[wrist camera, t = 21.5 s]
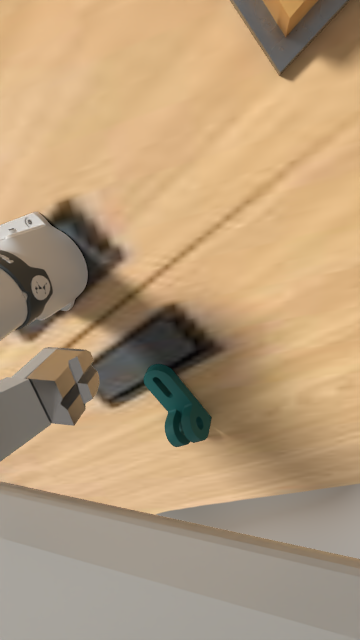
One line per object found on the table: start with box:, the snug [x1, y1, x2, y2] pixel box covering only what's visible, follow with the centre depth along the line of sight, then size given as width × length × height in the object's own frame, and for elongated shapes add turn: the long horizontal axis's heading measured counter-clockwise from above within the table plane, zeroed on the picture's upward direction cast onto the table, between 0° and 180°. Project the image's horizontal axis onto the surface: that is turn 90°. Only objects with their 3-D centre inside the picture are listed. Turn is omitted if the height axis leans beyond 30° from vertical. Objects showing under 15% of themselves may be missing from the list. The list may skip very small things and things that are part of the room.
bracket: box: [144, 364, 211, 447], centre depth 59 cm, size 18×7×8 cm, turn 36°
